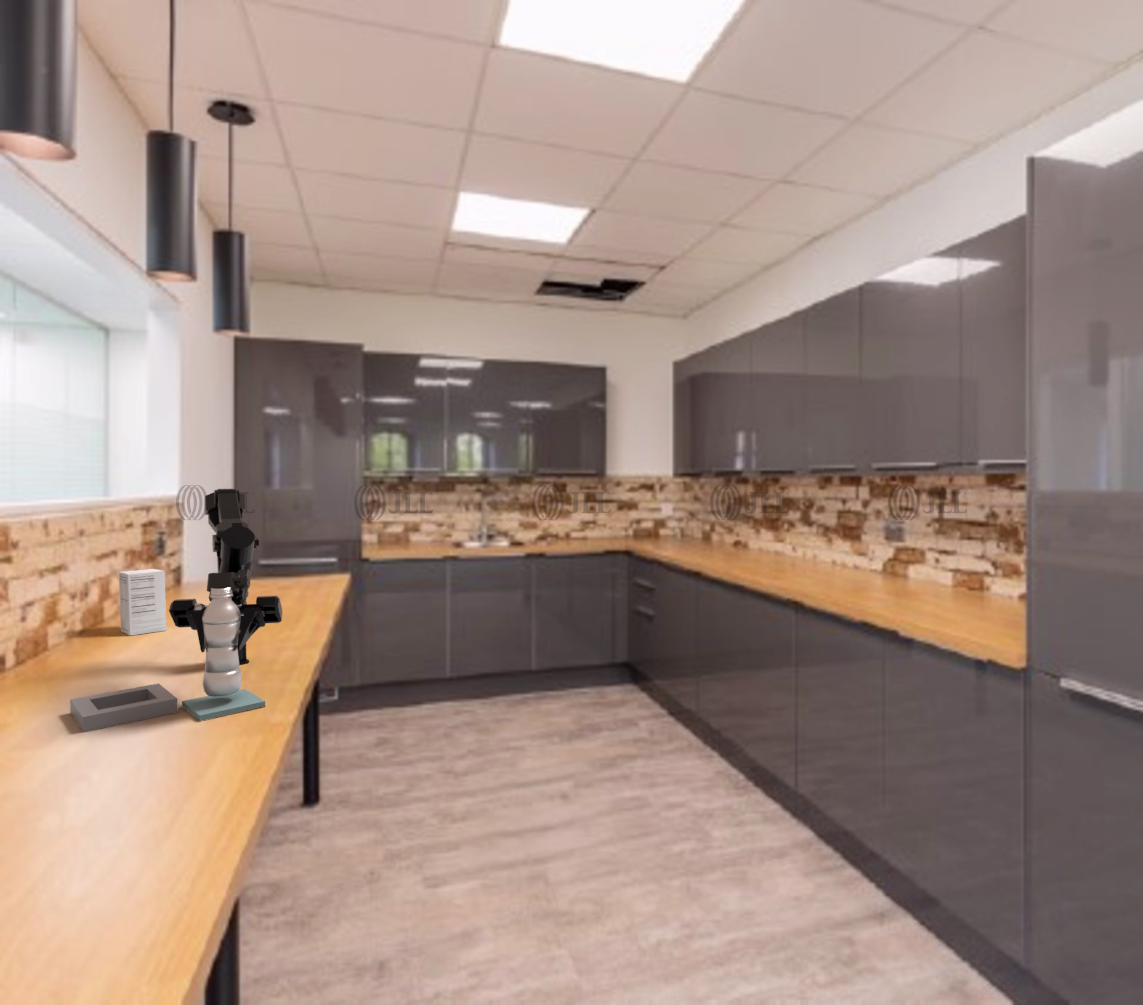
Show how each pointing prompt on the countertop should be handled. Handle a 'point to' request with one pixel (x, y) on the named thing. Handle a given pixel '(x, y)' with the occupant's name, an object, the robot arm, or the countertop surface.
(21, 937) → the countertop surface
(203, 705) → the coaster
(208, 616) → the plastic bottle
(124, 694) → the pocket holder
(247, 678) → the countertop surface
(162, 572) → the supplement box
